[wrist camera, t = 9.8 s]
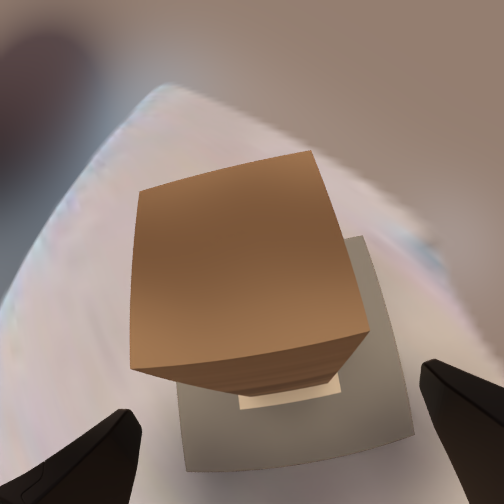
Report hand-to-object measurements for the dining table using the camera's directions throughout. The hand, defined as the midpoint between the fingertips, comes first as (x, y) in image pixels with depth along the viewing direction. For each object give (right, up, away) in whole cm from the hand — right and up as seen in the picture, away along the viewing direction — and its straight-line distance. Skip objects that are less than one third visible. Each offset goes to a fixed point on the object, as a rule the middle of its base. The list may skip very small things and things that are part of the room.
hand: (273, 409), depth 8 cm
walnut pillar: (+1, -2, +10) cm, 10 cm away
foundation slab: (+2, -3, +12) cm, 12 cm away
